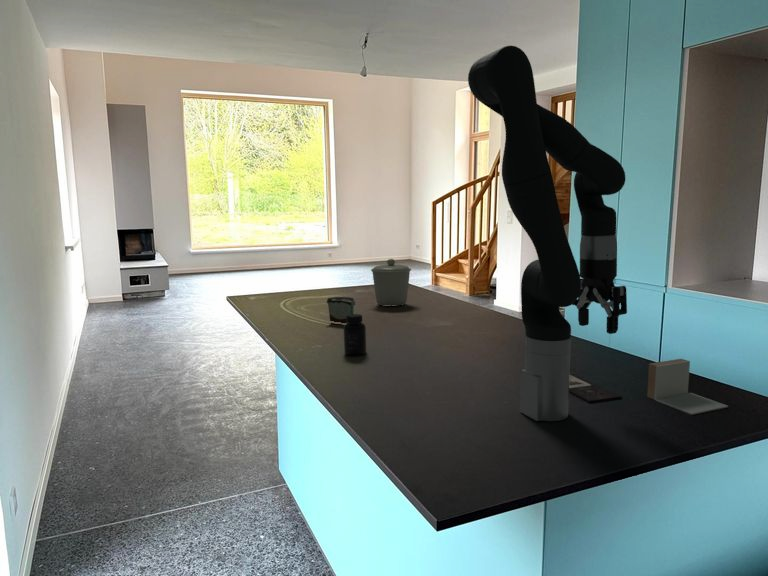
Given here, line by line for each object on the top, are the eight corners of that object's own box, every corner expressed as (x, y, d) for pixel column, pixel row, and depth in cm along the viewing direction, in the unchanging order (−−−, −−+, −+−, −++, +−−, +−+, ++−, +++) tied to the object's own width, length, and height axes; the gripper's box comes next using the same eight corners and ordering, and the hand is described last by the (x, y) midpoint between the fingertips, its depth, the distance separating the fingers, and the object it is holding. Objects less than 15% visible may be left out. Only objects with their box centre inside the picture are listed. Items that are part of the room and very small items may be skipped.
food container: (362, 323, 213) (361, 298, 211) (353, 326, 208) (352, 300, 206) (336, 320, 219) (336, 295, 218) (327, 323, 214) (326, 298, 213)
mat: (691, 414, 117) (691, 413, 117) (655, 400, 126) (655, 399, 126) (728, 407, 121) (728, 405, 121) (690, 393, 130) (690, 392, 129)
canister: (368, 308, 243) (367, 261, 240) (375, 301, 261) (374, 257, 257) (409, 309, 240) (408, 261, 237) (413, 301, 258) (413, 256, 254)
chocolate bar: (588, 401, 125) (543, 377, 142) (588, 405, 125) (543, 381, 142) (621, 396, 127) (573, 373, 144) (621, 400, 128) (573, 377, 145)
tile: (655, 400, 126) (657, 366, 125) (647, 396, 128) (649, 363, 127) (687, 394, 130) (689, 361, 129) (678, 390, 132) (681, 358, 131)
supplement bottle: (371, 353, 170) (370, 315, 169) (355, 357, 165) (354, 318, 164) (355, 349, 175) (354, 312, 173) (339, 353, 170) (338, 315, 168)
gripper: (562, 255, 124) (562, 325, 127) (609, 260, 111) (607, 338, 114) (588, 252, 127) (588, 320, 129) (637, 257, 114) (635, 333, 116)
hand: (597, 329), depth 122 cm, fingers open, 8 cm apart
